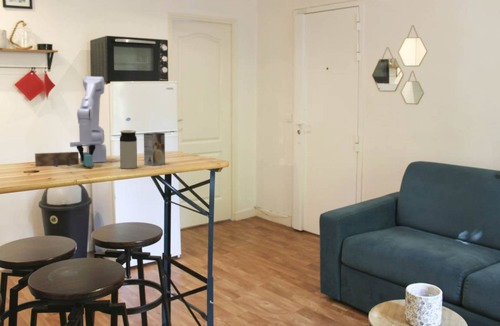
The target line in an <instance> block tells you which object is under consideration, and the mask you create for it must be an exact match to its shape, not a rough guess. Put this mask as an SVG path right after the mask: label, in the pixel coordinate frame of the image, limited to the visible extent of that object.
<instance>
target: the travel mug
mask: <svg viewBox="0 0 500 326" xmlns="http://www.w3.org/2000/svg"><path fill="white" fill-rule="evenodd" d="M119 132H120V137H119V165H120V166H119V168H121V169H123V170H129V169H131V170H132V169H133V168H134V169H137V168H138V147H137V146H138V143H137V142H138V141H137V140H138V138H137V136H136V132H137V131H136V130H127V129H126V130H120V131H119Z"/></svg>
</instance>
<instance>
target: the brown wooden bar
mask: <svg viewBox="0 0 500 326" xmlns="http://www.w3.org/2000/svg"><path fill="white" fill-rule="evenodd" d="M79 161H80V153H79V151H65V152H61V151H59V152H41V153H39V152H38V153H34V162H35V164H34V165H35V167H49V166H50V167H51V166H53V167H56V168H57V167H58V166H68V167H71V165H80V162H79Z"/></svg>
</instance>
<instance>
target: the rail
mask: <svg viewBox="0 0 500 326" xmlns="http://www.w3.org/2000/svg"><path fill="white" fill-rule="evenodd" d="M83 157H84V161H81V156H80V155H79V161H80V162H79V163H81V164H82V165H83V166H85V167H93V166H94V165H93V164H94V162H93V160H92V155H90V154H89V153H87V151H86V152H85V151H83Z"/></svg>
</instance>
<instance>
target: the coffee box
mask: <svg viewBox="0 0 500 326" xmlns="http://www.w3.org/2000/svg"><path fill="white" fill-rule="evenodd" d="M165 136H166V135H165V132H146V133H143V156H144V157H143V162H144V163H143V164H144V165H145V166H152V167H155V166H161V165H165V164H166V148H165V147H166V142H165V140H166V139H165V138H166V137H165Z"/></svg>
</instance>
